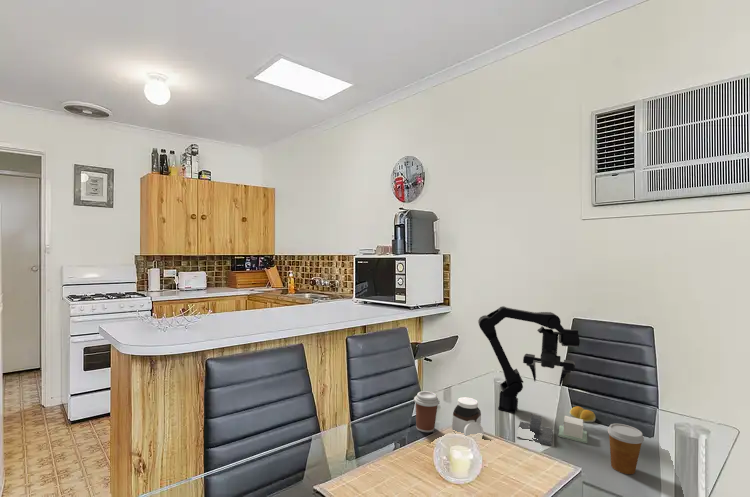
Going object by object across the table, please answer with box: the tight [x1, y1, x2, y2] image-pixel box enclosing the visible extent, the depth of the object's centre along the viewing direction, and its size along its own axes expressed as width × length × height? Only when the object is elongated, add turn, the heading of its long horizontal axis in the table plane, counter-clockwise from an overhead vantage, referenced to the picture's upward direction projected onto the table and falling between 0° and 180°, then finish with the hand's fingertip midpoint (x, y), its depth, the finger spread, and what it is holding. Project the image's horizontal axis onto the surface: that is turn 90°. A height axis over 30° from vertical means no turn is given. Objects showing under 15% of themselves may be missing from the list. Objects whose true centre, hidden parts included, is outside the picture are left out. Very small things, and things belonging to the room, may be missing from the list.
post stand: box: [518, 414, 554, 447], centre depth 146 cm, size 11×11×6 cm
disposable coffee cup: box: [607, 423, 645, 475], centre depth 126 cm, size 10×10×12 cm
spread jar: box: [451, 396, 484, 436], centre depth 142 cm, size 12×11×12 cm
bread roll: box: [568, 405, 596, 423], centre depth 164 cm, size 8×9×4 cm
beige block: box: [563, 415, 584, 439], centre depth 148 cm, size 6×6×4 cm
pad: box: [558, 424, 588, 444], centre depth 148 cm, size 9×9×1 cm
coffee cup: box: [413, 390, 441, 433], centre depth 147 cm, size 9×9×12 cm
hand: (547, 383), depth 166 cm, fingers open, 9 cm apart
